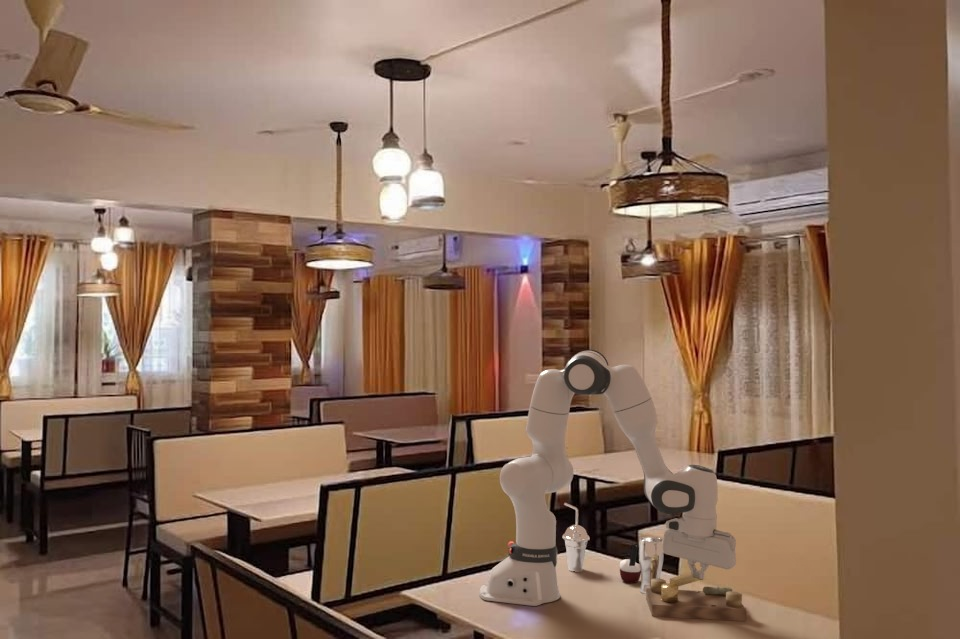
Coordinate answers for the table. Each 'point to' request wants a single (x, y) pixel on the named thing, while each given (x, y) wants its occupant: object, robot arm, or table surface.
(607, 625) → the table surface
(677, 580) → the lever handle
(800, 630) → the table surface
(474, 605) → the table surface
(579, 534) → the cup with straw
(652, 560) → the beer glass
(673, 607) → the levelling base
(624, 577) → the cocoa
